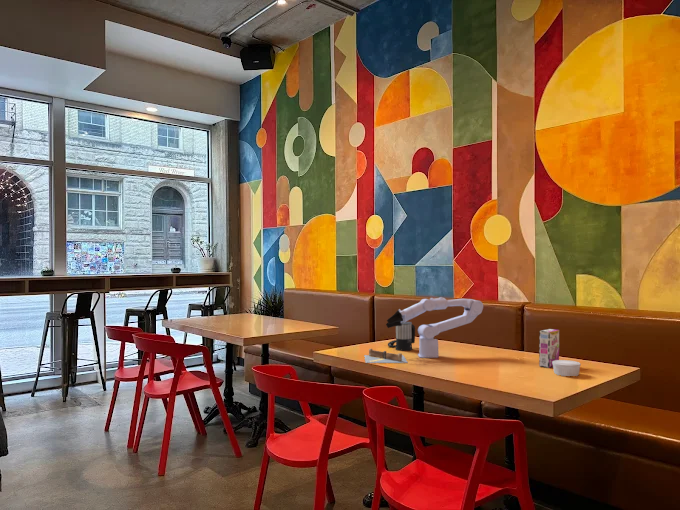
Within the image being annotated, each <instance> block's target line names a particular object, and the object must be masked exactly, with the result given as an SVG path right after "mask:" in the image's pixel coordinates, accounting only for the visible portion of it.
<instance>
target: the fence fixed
mask: <svg viewBox="0 0 680 510" xmlns="http://www.w3.org/2000/svg"><path fill="white" fill-rule="evenodd" d="M386 353H387V350H383V351H380V350H374V349H373V348H369V349H368V355H369V356H375V357H381V358H384V359H386Z"/></svg>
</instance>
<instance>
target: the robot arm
mask: <svg viewBox="0 0 680 510" xmlns="http://www.w3.org/2000/svg"><path fill="white" fill-rule="evenodd" d="M448 307H463V308H464V309H463V311H464V312H463V313H462V315H457V316H455V317H451V318H448V319H446V320H443V321H439V322H435V323H429V324H421V325H419V326H418V328H417V333H418V335H419V339H418V340H419V341H418V342H419V345H418V346H419V348H418V350H419V352H418V353H417V356H418V357H419V358H421V359H422V358H427V359H428V358H429V359H430V358H432V359H433V358H435V359H436V358H439V340H438V338H435V336H438V335H439V334H440V333H443V332H446V331H449V330H453V329H454V328H458V327H461V326H465V325H467V324H470V323H473V321H474V320H475V319H476V318H477V317H478V316H479V315H481V314H482V312H483V309H484V304H483V302H482V301H481V300H476V299H472V298H457V299H455V298H454V299H446V298H445V297H443V296H439V297H437V298H435V297H434V298H433V297H430V298H429V299H428V298H422V299H421V300H420V301H419V302H418V303H414V304H412V305H411V306H408V307H407V308H404V309H402V310H401V309H400V308H399V309H397V310H396V311H395V312H394V314H392V315H391V316H390V317H389V318H388V319H387V320H386V321H387V323H385V326H386V327H387V329H389V328H393V327H396V326H402V324H401V322H409V320H412V319H414V318H416V317H418V316H419V315H420V316H421V315H422V314H424V313H425V312H427V311H428V312H432V311H435V310H437V311H439V310H446V309H447V308H448Z"/></svg>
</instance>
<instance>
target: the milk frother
mask: <svg viewBox="0 0 680 510" xmlns="http://www.w3.org/2000/svg"><path fill="white" fill-rule="evenodd" d="M401 324H402V326H395V339H394V340H390V341H389V342H388V343H387V347H389V348H395V351H400V352H404V351H405V352H406V351H407V352H408V351H412V350H413V346H412V345H413V344H414V343H415V341H416V340H415V339H416V326H415V324H413V323H412V321H406V322H401Z"/></svg>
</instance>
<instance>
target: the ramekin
mask: <svg viewBox="0 0 680 510" xmlns="http://www.w3.org/2000/svg"><path fill="white" fill-rule="evenodd" d="M552 364H553V367H552V368H553V373H554V374H555V375H556V374H557V375H556V376H559V375H561V376H560V377H565V376H576V377H577V376H579V374H580V368H581V363H580V362H579V361H575V360H569V359H568V360H567V359H559V360H555V361H552Z"/></svg>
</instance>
